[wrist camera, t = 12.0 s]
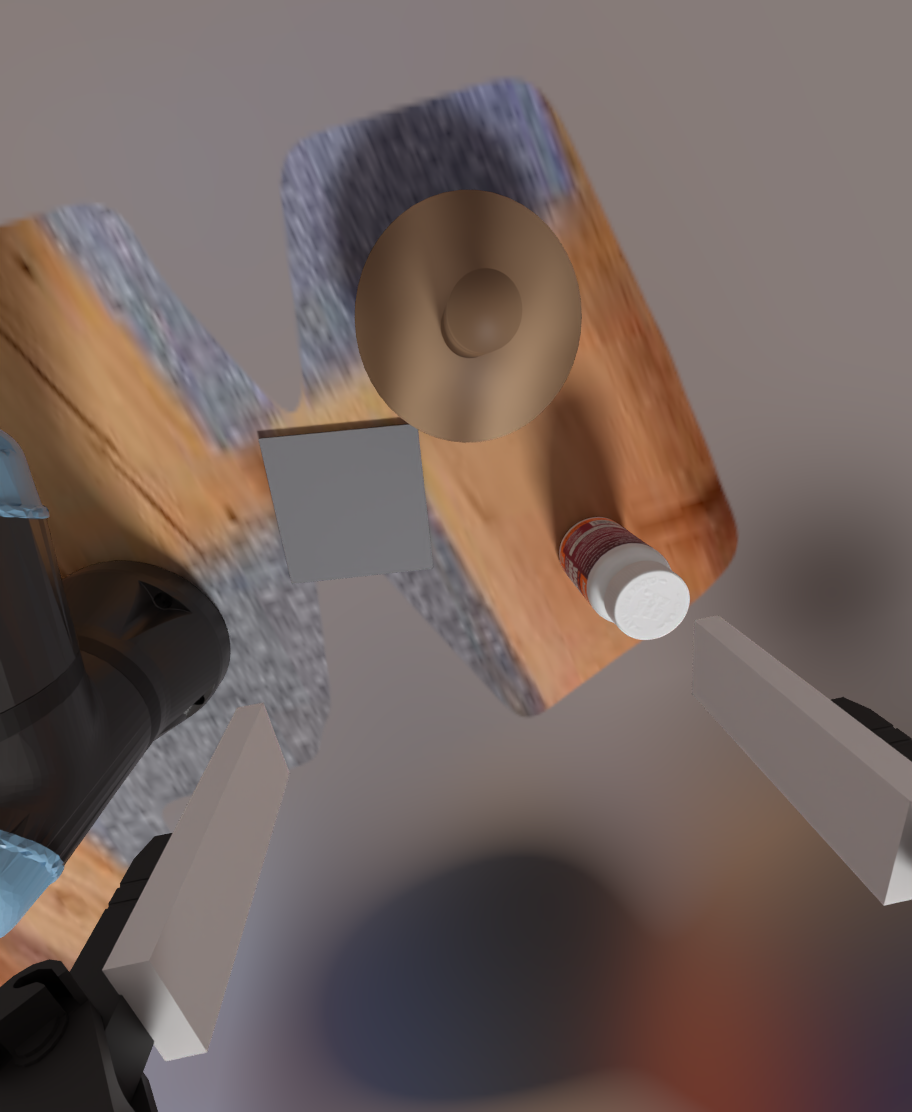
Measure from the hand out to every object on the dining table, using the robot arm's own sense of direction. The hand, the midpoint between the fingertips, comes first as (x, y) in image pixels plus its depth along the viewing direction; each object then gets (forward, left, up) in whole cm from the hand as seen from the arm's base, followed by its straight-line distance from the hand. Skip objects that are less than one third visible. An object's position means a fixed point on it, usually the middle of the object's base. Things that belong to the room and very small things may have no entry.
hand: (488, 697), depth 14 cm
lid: (+2, +12, -21) cm, 24 cm away
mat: (-7, 0, -26) cm, 27 cm away
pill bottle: (+13, -6, -27) cm, 30 cm away
